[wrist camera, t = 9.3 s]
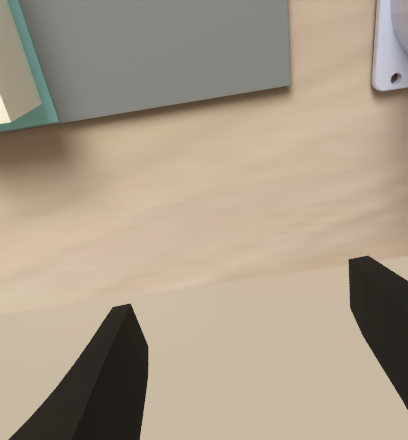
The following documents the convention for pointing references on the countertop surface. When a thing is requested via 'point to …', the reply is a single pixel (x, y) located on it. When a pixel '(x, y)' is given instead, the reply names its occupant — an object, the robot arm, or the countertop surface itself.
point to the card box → (14, 72)
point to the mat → (146, 53)
